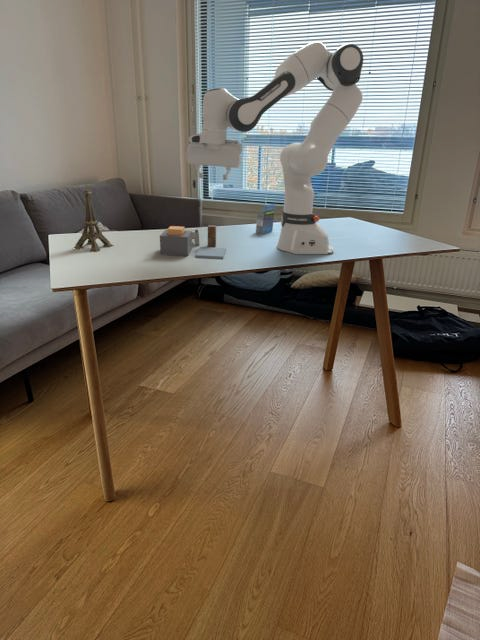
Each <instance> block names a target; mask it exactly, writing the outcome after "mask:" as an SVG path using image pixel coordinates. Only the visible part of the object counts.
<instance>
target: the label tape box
mask: <svg viewBox="0 0 480 640" xmlns="http://www.w3.org/2000/svg"><path fill="white" fill-rule="evenodd" d="M274 217H275V203H273V204H270V205H264V206H263V211H262V212H260V213H257V214H256V226H255V233H258V234H266V233H270V232H273V228H274V227H273V225H274Z"/></svg>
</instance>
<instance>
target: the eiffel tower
mask: <svg viewBox="0 0 480 640" xmlns="http://www.w3.org/2000/svg"><path fill="white" fill-rule="evenodd" d="M85 181H86V183H85V184H86V186H85V187H86V189H85V190H83V194H85V202H84V203H85V206H84V207H85V209H84V210H85V211H84V212H85V213H84V217H85V218H84V220H83V221H82V222H83V224H84V227H83V231H82V232H81V236H80V238H79V239H78V240H77V242H76V243H75V245H74V247H73V248H75V249H74V250H81V249H80V248H82V249H84V246H83V245H84V244H85V245H90V244H91V248H90V250H89V252H92V251H93V252H95V253H97V252H100V250H101V249H100V246H99V245H98V242H97V241H96V240H97V239H98V240H99V241H100V242H102V244H103V245H102V246H103V247H104V248H111V247H114V244H112V243H111V242H110V241H109V240H108V238H106V236H104V235H103V231H101V230H100V229H101V228H99V225H98V223H99V220H98V219H96V214H95V210H94V206H93V201H92V197H91V194H92V193H93V192H92V190H91V189H89V187H88V182H87V180H85ZM86 241H87V242H86ZM85 242H86V243H85ZM93 252H92V253H93Z"/></svg>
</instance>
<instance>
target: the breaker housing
mask: <svg viewBox="0 0 480 640" xmlns="http://www.w3.org/2000/svg"><path fill="white" fill-rule="evenodd" d="M192 232H193V231H192V230H184V235H183V236H182V235H168V229H165V230H164V231H163V232H162V233H161V234H160V235H159V250H160V254H159V255H162V256H175V257H178V256H180V257H188V256H189V255H190V253H191V251H192V250H193V239H192Z"/></svg>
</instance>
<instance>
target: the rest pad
mask: <svg viewBox="0 0 480 640" xmlns="http://www.w3.org/2000/svg"><path fill="white" fill-rule="evenodd" d="M226 251H227V248H226V247H208V246H199V248H198V250H197V252H196V254H195V258H201V259H203V258H204V259H224V257H225V254H226Z"/></svg>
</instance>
